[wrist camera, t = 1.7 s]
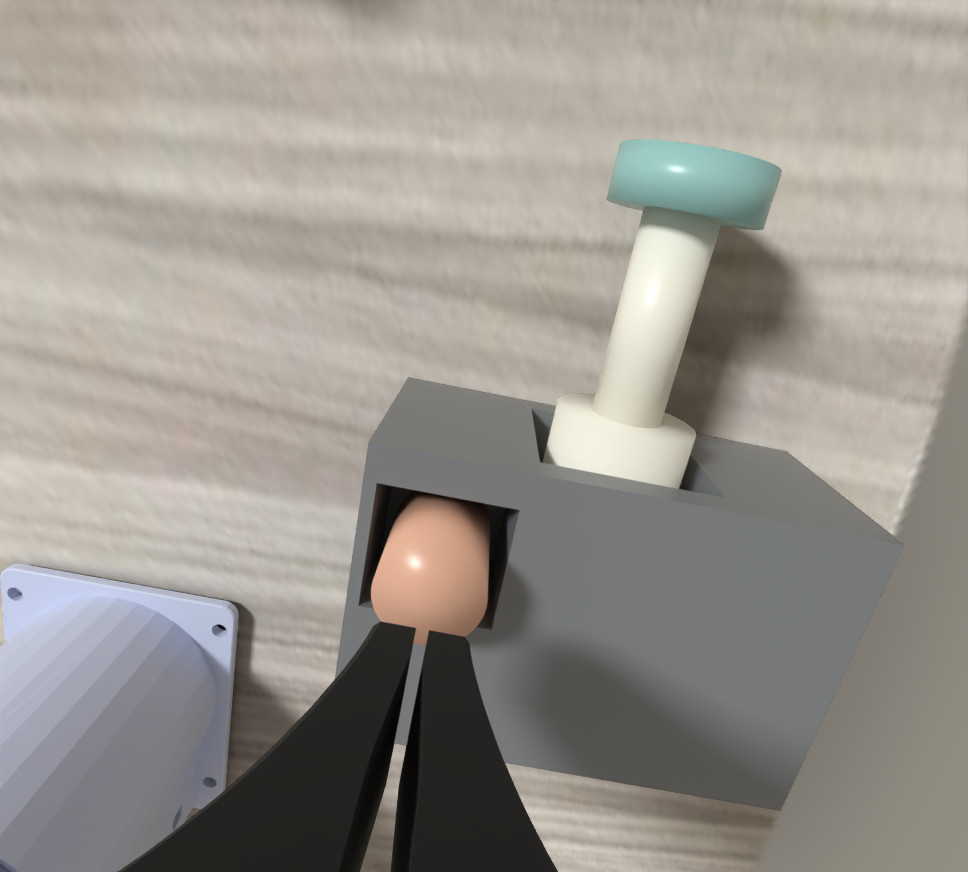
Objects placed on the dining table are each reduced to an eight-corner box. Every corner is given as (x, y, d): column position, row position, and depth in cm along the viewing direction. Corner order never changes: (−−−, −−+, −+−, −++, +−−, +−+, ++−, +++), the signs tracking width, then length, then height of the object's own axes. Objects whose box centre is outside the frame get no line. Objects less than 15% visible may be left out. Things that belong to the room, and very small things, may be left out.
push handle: (604, 638, 20) (624, 721, 17) (497, 618, 20) (496, 698, 17) (745, 180, 16) (811, 168, 12) (608, 151, 16) (637, 131, 12)
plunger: (480, 574, 16) (475, 654, 13) (390, 557, 16) (363, 634, 13) (498, 491, 15) (498, 556, 12) (403, 473, 15) (379, 534, 12)
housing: (708, 659, 22) (780, 810, 16) (373, 598, 22) (327, 731, 16) (786, 451, 19) (904, 545, 14) (408, 377, 19) (368, 442, 13)
